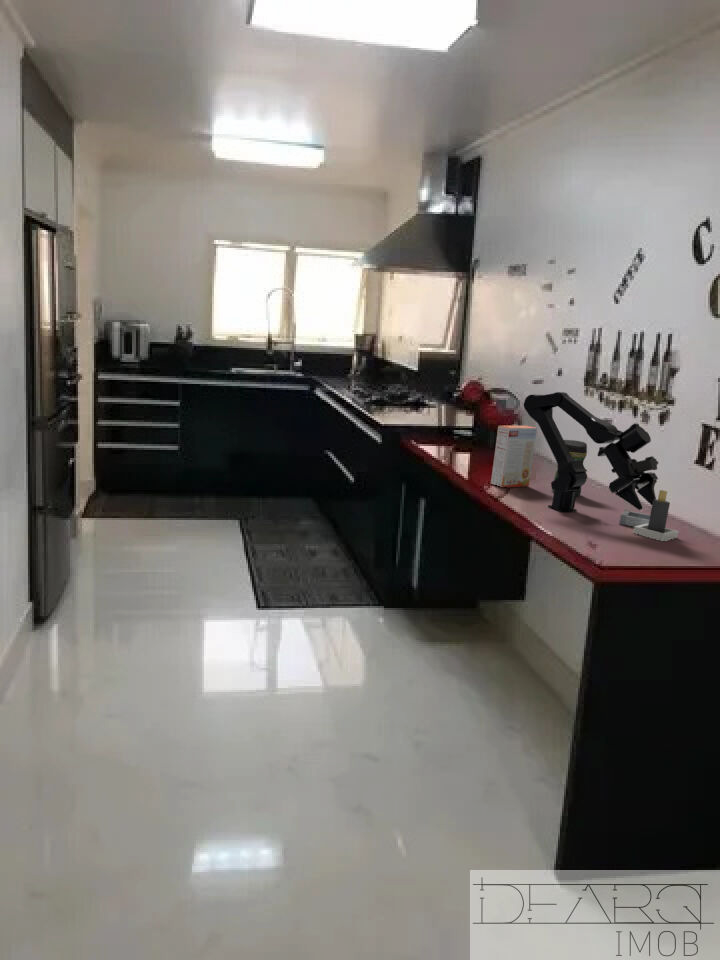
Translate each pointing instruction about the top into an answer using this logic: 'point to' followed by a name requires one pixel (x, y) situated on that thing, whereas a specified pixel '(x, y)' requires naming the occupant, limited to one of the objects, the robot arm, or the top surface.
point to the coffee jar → (575, 454)
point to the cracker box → (513, 456)
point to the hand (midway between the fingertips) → (648, 507)
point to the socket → (655, 533)
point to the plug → (659, 513)
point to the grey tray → (633, 518)
